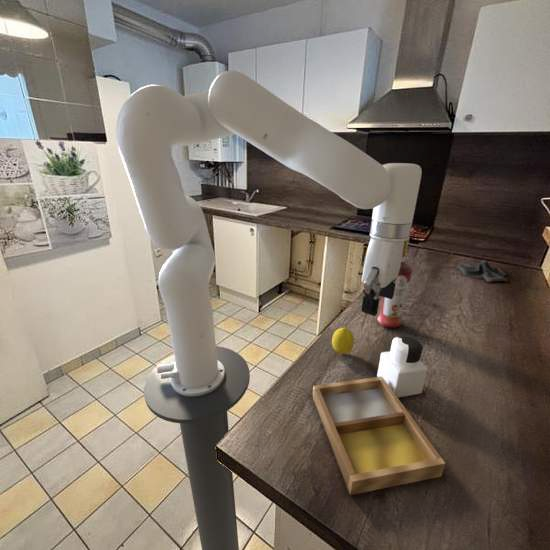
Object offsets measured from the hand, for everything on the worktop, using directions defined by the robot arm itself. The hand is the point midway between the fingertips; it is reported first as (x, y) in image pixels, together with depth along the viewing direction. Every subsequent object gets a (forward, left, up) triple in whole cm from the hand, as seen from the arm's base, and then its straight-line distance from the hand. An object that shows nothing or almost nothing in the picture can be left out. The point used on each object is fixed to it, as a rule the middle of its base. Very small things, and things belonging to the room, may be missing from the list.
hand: (377, 304), depth 65 cm
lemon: (-4, +7, -18) cm, 20 cm away
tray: (-8, -16, -18) cm, 26 cm away
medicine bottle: (+5, -6, -18) cm, 20 cm away
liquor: (+16, +18, -18) cm, 30 cm away
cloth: (+80, +49, -18) cm, 95 cm away
